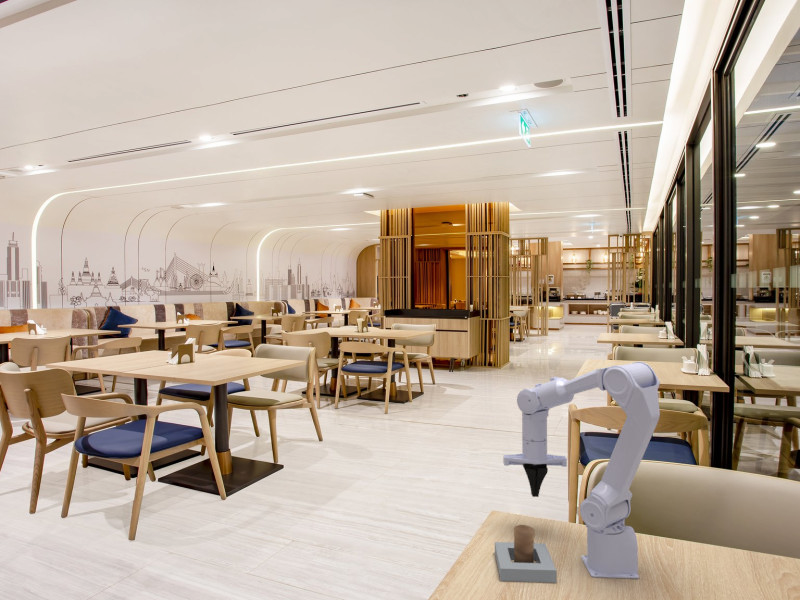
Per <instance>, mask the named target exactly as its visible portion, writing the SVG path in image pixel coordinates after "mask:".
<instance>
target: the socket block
mask: <svg viewBox="0 0 800 600" xmlns="http://www.w3.org/2000/svg"><path fill="white" fill-rule="evenodd" d="M494 555H495V561H496V565H497V570H498V574H499V580H500V581H501V582H519V583H520V582H522V583H523V582H524V583H525V582H526V583H545V584H546V583H553V584H556V583H557V568H556V565H555V564H554V561H553V559H552V556H551V554H550V551H549V549H548V546H547V544H546V543H544V542H543V543H540V542H539V543H538V542H534V561H535V562H534V563H514V541H513V542H511V541H510V542H509V541H506V542H505V541H494ZM512 560H513V562H512Z"/></svg>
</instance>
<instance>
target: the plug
mask: <svg viewBox="0 0 800 600" xmlns="http://www.w3.org/2000/svg"><path fill="white" fill-rule="evenodd" d="M534 531H535V530H534V529H533V527H532V526H529V525H526V524H525V525H524V524H518V525H515V526H514V528H513V542H514V560H513V562H514V563H535V562H534V561H535V560H534V543H535V542H534V541H535V540H534V539H535V538H534V537H535V536H534V535H535V534H534V533H535V532H534Z"/></svg>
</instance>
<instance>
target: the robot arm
mask: <svg viewBox="0 0 800 600" xmlns="http://www.w3.org/2000/svg"><path fill="white" fill-rule="evenodd" d="M660 383H661V380H660V379H659V377H658V376H657V374H656V372H655V370H654V369H653V368H652V366H650V364H648V363H646V362H645V361H644V362H643V361H635V362H631V363H627V364H626V363H625V364H619V365H618V364H617V365H616V364H615V365H611V366H607V367H602V368H601V367H600V368H596V369H593V370H592V371H588V372H586V373H583V374H581V375H579V376H576V377H574V378H572V379H570V380H568V379H566V378H565V377H559V376H553V377H550V378H549V381H548V382H545V383H540V382H539V383H536V384H535V385H534V387H533V388H523V389H522V390H521V391H519V393H518V394H517V396H516V397H517V398H516V404H517V406H518V409H519V410H520V411H521V412H522V414H521V415H522V416H521V418H522V419H521V421H522V422H521V423H522V429H521V430H522V431H521V433H522V436H521V437H522V439H521V440H522V441H521V443H522V445H521V446H522V447H521V448H522V449H521V451H522V453H516V454H503V458H502V459H503V462H502V463H503V465H504V466H506V467H507V466H522V467H523V469H524V472H525V474H526V478H527V480H528V483H529V486H530V487H529V488H530V494H531V497H532V498H535V497H537V498H539V495H540V491H541V487H542V485H543V482H544V479H545V478H546V475H547V474H548V471H549V470H548V466H557V467H558V466H561V467H564V468H565V467H567V466H568V464H567V463H568V462H567V461H568V459H567V458H568V457H566V456H565V455H554V454H548V417H549V411H550V410H551V409H552V408H556V407H558V406H562V405H565V404H569V403H571V402H572V401H573V400H574V397H575V395H576V394H579V393H584V392H586V391H590V390H593V389H597V388H598V389H599V390H601V391H606V392H607V393H608V395H610V397H611V398H612V399H613V400H614V402H616V404H617V405H618V406H619V407H620V409H621V410H622V411H623V412H624V413H625V415H626V419H625V421H624V423H623V426H622V428H621V431H620V433H619V435H618V437H617V440H616V443H615V445H614V448H613V450H612V453H611V455H610V458H609V459H608V463H607V465H606V468H605V471H604V473H603V475H602V477H601V480H600V481H599V482H598V483H597V485H595V486H594V488H592V489H591V490H590V493H589V495H588V497H587V498H585V499H583V500H582V502H581V503H580V505H579V513H580V518H581V519H582V521H583V522H584V524H585V527H586V540H587V541H586V553H587V554H586V555H585V554H584V555H582V554H581V557H580V558H581V560H582V563H584V564H583V565H584V566H585V568H586V569H587V571H588V573H589V575H590V577H591V578H605V579H606V578H608V579H609V578H610V579H632V580H633V579H637V580H638V579H639V578H640V575H639V574H638V571H639V568H638V566H639V565H638V563H639V562H638V560H639V556H638V555H639V553H638V550H639V548H638V547H639V545H638V540H637V534H636V532H635V530H634V528H633V527H632V526H629V525H625V523H626V522H625V521H626V519H627V518H628V517H629V516H630V514H631V510H632V508H631V500H632V497H633V493H632V492H631V490H630V487H631V485H632V483H633V482H634V478H635V476H636V473H637V472H638V468H639V467H640V464H641V462H642V460H643V458H644V455H645V453H646V450H647V448H648V446H649V444H650V440H652V436H653V434H654V432H655V430H656V427H657V424H658V422H659V420H660V415H661V413H660V404H659V403H660V402H659V391H658V390H659V388H660Z"/></svg>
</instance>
